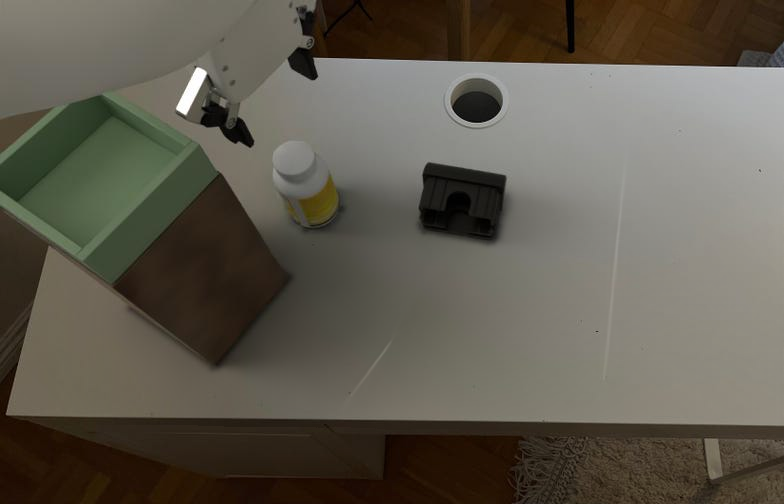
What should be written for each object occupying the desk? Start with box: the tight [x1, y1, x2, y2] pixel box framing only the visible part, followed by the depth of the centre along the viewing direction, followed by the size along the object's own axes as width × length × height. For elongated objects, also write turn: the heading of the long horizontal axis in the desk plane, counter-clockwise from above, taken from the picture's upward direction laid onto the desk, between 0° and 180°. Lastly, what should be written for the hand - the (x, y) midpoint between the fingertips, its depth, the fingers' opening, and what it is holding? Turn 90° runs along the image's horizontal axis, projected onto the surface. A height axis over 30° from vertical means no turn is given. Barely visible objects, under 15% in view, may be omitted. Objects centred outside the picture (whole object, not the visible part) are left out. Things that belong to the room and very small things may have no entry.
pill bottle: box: [272, 139, 340, 229], centre depth 78 cm, size 6×6×12 cm
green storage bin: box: [0, 91, 218, 284], centre depth 54 cm, size 13×13×5 cm
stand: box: [2, 170, 289, 367], centre depth 67 cm, size 13×13×24 cm
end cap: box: [417, 161, 508, 241], centre depth 81 cm, size 10×7×7 cm
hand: (273, 105), depth 65 cm, fingers open, 9 cm apart
